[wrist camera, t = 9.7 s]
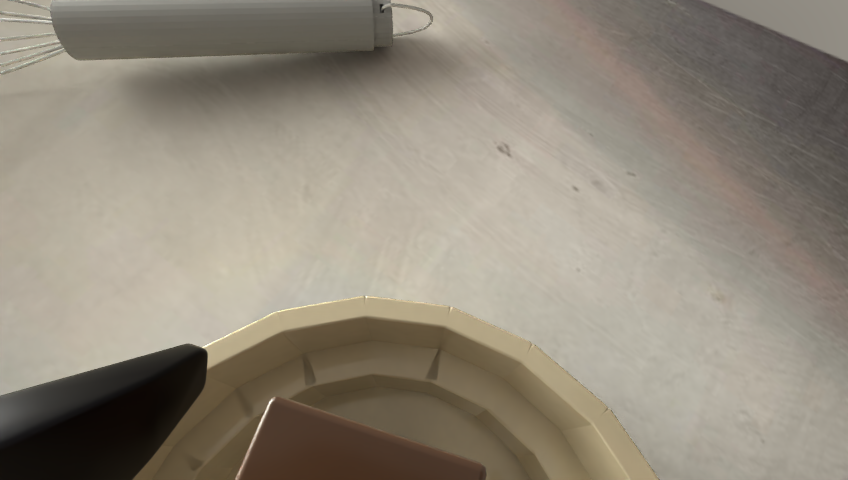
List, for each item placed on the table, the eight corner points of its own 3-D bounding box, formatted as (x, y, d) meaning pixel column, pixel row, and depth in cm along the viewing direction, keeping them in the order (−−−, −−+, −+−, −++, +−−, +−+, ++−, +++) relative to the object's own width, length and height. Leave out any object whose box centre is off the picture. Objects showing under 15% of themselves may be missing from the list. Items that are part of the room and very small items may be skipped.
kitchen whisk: (441, 80, 22) (451, -48, 17) (-314, 157, 19) (-613, 33, 14) (422, 2, 25) (425, -131, 19) (-244, 59, 22) (-470, -79, 16)
